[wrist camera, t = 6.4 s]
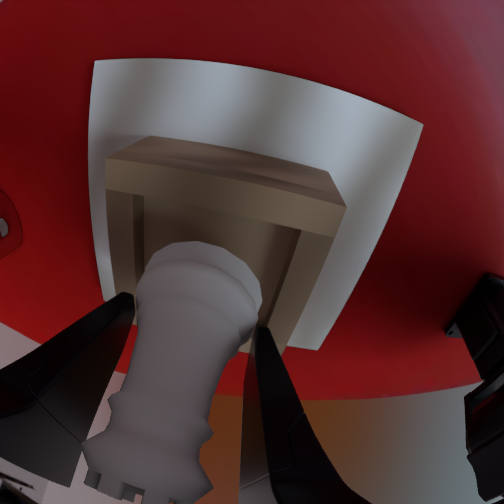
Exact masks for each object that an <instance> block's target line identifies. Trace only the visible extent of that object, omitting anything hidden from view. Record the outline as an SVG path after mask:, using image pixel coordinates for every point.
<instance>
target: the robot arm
mask: <svg viewBox="0 0 504 504" xmlns="http://www.w3.org/2000/svg"><path fill="white" fill-rule="evenodd" d="M135 313H136V309H135V301H134V296H133V294H131V293H127V292H121V293H119V294H117V295H116V296H114V297H113V298H111V299H110V300H108V301H107V302H105V303H103V304H102V305H100V306H99V307H97V308H96V309H94V310H93V311H91V312H90V313H88V314H87V315H85V316H84V317H82V318H81V319H79V320H78V321H76V322H75V323H73V324H72V325H70V326H69V327H67V328H66V329H64V330H63V331H61V332H60V333H58V334H57V335H55V336H54V337H52V338H51V339H50V340H49V341H47V342H45V343H44V344H42V345H41V346H39V347H38V348H36V349H35V350H33V351H32V352H30V353H28V354H27V355H25V356H24V357H22V358H20V359H18V360H16V361H15V362H13V363H11V364H9V365H7V366H6V367H4V368H2V369H0V504H41V503H42V500H43V497H44V493H45V490H46V487H47V484H48V481H49V480H50V481H52V482H55V483H58V484H60V485H63V486H66V487H70V485H71V482H72V479H73V476H74V472H75V470H76V467H77V464H78V461H79V458H80V455H81V452H82V448H81V445H80V443H82V442H84V441H86V438H87V435H88V433H89V430H90V427H91V425H92V422H93V420H94V417H95V415H96V412H97V410H98V407H99V405H100V402H101V400H102V397H103V395H104V393H105V390H106V388H107V386H108V383H109V381H110V379H111V377H112V374H113V372H114V370H115V368H116V365H117V363H118V361H119V359H120V357H121V354H122V352H123V349H124V346H125V343H126V340H127V337H128V334H129V331H130V328H131V326H132V323H133V320H134V317H135ZM444 332H445V335H446V337H454V338H463V340H464V342H465V344H466V347H467V349H468V351H469V353H470V356H471V358H472V360H473V361H474V363H475V365H476V368H477V370H478V373H479V375H480V378H481V379H483V383H482V384H481V385H479V386H478V387H477V388H476V389H474V390H473V391H472V392H469V393H468V394H467V395H466V396H464V404H465V423H466V448H467V450H468V453H469V454H468V455H467V459H468V460H469V462H470V463H471V465H472V467H473V469H474V472H475V475H476V479H477V487H478V494H479V495H480V497H481V498H482V499H483V500H484V501H485V502H487V501H489V500H492V499H494V498H496V497H498V496H501V497H503V498H504V279H503V278H501V277H498V276H495V275H492V274H490V273H487V274H486V275H484V276H483V278H482V279H481V281H480V282H479V284H478V285H477V287H476V288H475V290H474V291H473V293H472V294H471V296H470V297H469V299H468V300H467V301H466V303H465V304H464V306H463V307H462V308H461V310H460V311H459V312H458V314H457V315H456V316H455V318H454V319H453V320H452V321H451V323H450V324H449V325H448V326H447V328H446V329H445V331H444ZM239 489H240V490H239V504H372V503H370V502H368V501H367V500H365V499H364V498H363V497H361V496H360V495H358V494H357V493H356V492H354V491H353V490H351V489H350V488H349V487H348V486H347V485H346V484H345V483H344V481H343V480H342V479H341V477H340V476H339V474H338V473H337V471H336V470H335V468H334V466H333V465H332V463H331V461H330V460H329V458H328V457H327V455H326V453H325V452H324V450H323V449H322V447H321V445H320V443H319V441H318V439H317V438H316V436H315V434H314V432H313V430H312V427H311V425H310V423H309V421H308V419H307V416H306V414H305V413H304V409H303V407H302V405H301V402H300V400H299V398H298V395H297V393H296V391H295V388H294V386H293V384H292V381H291V379H290V376H289V374H288V372H287V369H286V367H285V365H284V362H283V360H282V357H281V355H280V353H279V350H278V348H277V345H276V343H275V341H274V338H273V336H272V333H271V331H270V329H269V328H268V327H265V326H260V325H258V326H256V329H255V332H254V335H253V338H252V341H251V345H250V351H249V356H248V362H247V367H246V373H245V379H244V388H243V410H242V434H241V457H240V481H239ZM492 504H504V499H502V500H499V501H497V502H495V503H492Z"/></svg>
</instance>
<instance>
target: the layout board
mask: <svg viewBox="0 0 504 504" xmlns="http://www.w3.org/2000/svg"><path fill="white" fill-rule="evenodd" d="M422 128H423V124H421V123H419V122H417V121H415V120H413V119H411V118H409V117H407V116H405V115H403V114H400V113H398V112H396V111H394V110H391V109H389V108H387V107H384V106H382V105H379V104H377V103H374V102H372V101H369V100H367V99H364V98H362V97H359V96H356V95H353V94H350V93H348V92H345V91H342V90H339V89H336V88H332V87H329V86H326V85H323V84H319V83H316V82H312V81H309V80H305V79H301V78H297V77H293V76H289V75H285V74H281V73H276V72H272V71H267V70H262V69H256V68H251V67H245V66H239V65H232V64H225V63H217V62H208V61H197V60H183V59H158V58H137V59H113V60H99V61H95V64H94V71H93V79H92V88H91V98H90V111H89V131H88V175H89V196H90V209H91V220H92V230H93V238H94V246H95V253H96V260H97V266H98V272H99V278H100V283H101V288H102V293H103V298H104V301H108V300H110V299H111V298H113V297H114V296H116V295H117V294H119V293H121V292H127V293H131V294H133V296H134V301H135V309H136V288H137V284H138V282H139V281H140V279H141V277H142V276H143V274H144V272H145V268H146V266H147V264H148V263H149V261H150V259H151V258H152V256H153V254H154V253H155V252H157V251H159V250H161V249H162V248H164V247H166V246H168V245H170V244H171V243H179V242H191V241H199V242H203V243H207V244H211V245H214V246H218V247H222V248H224V249H226V250H227V251H229V252H230V253H232V254H233V255H235V256H236V257H238V258H239V259H240V260H242V261H243V262H245V263H246V264H247V265H248V267H249V268H250V270H251V271H252V272H253V274H254V275H255V277H256V278H257V280H258V281H259V283H260V289H261V296H262V303H261V306H260V308H259V311H258V313H257V314H258V321H257V323H256V326H258V325H260V326H265V327H268V328H269V329H270V331H271V333H272V336H273V338H274V341H275V343H276V345H277V348H278V350H279V353H280V355H282V353H283V351H284V349H285V347H286V345H287V346H293V347H299V348H306V349H312V350H318V349H319V347H320V345H321V344H322V342H323V341H324V339H325V337H326V336H327V334H328V333H329V331H330V329H331V328H332V326H333V324H334V322H335V321H336V319H337V317H338V316H339V314H340V312H341V310H342V309H343V307H344V305H345V303H346V302H347V300H348V298H349V296H350V294H351V293H352V291H353V289H354V287H355V285H356V283H357V281H358V280H359V278H360V276H361V274H362V272H363V270H364V268H365V266H366V264H367V262H368V260H369V258H370V256H371V254H372V252H373V250H374V248H375V246H376V244H377V242H378V239H379V237H380V235H381V233H382V231H383V229H384V226H385V224H386V222H387V220H388V217H389V215H390V213H391V211H392V208H393V206H394V204H395V201H396V199H397V196H398V194H399V191H400V189H401V187H402V184H403V181H404V179H405V176H406V174H407V171H408V168H409V166H410V163H411V160H412V157H413V155H414V152H415V149H416V146H417V143H418V140H419V137H420V134H421V131H422ZM136 312H137V310H136ZM132 324H134V325H137V319H136V313H135V317H134V320H133V323H132ZM256 326H255V328H254V330H253V333H252V335H251V337H250V339H249V341H248V342H247V343H245V344H244V345H243V346H241V347H240V348H239V350H238V351H241V352H246V353H249V351H250V345H251V341H252V338H253V335H254V332H255V329H256Z"/></svg>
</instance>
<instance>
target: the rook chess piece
mask: <svg viewBox="0 0 504 504" xmlns="http://www.w3.org/2000/svg"><path fill="white" fill-rule="evenodd" d="M261 303H262V296H261V289H260V283H259V281H258V280H257V278H256V277H255V275H254V274H253V272H252V271H251V270H250V268H249V267H248V265H247V264H246V263H245V262H243V261H242V260H240V259H239V258H238V257H236V256H235V255H233V254H232V253H230V252H229V251H227V250H226V249H224V248H222V247H218V246H214V245H211V244H207V243H203V242H199V241H191V242H179V243H171V244H170V245H168V246H166V247H164V248H162V249H161V250H159V251H157V252H155V253H154V254H153V256H152V258H151V259H150V261H149V263H148V264H147V266H146V268H145V272H144V274H143V276H142V277H141V279H140V281H139V282H138V284H137V288H136V310H137V312H136V319H137V327H138V334H137V339H136V342H135V346H134V349H133V353H132V357H131V360H130V364H129V368H128V372H127V374H126V377H125V379H124V382H123V384H122V387H121V389H120V391H119V392H117V393H115V394H112V395H111V396H110V397H109V398H108V402H109V405H110V408H111V411H112V412H111V417H110V422H109V424H108V425H107V427H106V429H105V430H104V431H103V432H101V433H99V434H97V435H95V436H93V437H91V438H89V439H88V440H86V441H84V442H82V443H80V445H81V448H82V451H83V454H84V457H85V460H86V462H87V465H88V467H89V469H88V472H87V475H86V479H85V481H84V484H85V485H88V486H90V487H92V488H94V489H97V491H100V492H102V493H104V494H106V495H108V496H111V497H113V498H115V499H118V500H122V499H125V500H128V501H131V502H134V498H135V494H139V495H142V496H143V497H142V501H141V504H169V503H172V502H174V503H173V504H193V503H194V502H196V501H197V500H199V499H200V498H201V497H203V496H204V495H205V494H207V493H208V492H209V491H210V490H212V489H213V486H212V484H211V482H210V480H209V479H208V477H207V475H206V473H205V472H204V470H203V468H202V466H201V464H200V462H199V452H200V448H201V446H202V444H203V443H205V442H206V441H208V440H209V439H211V437H212V435H213V431H212V429H211V428H210V426H209V424H208V417H209V412H210V407H211V402H212V398H213V395H214V393H215V390H216V388H217V385H218V382H219V380H220V377H221V374H222V371H223V369H224V368H225V366H226V364H227V362H228V361H229V360H230V359H231V358H233V357H234V356H236V355H237V353H238V350H239V348H240V347H241V346H243V345H244V344H245V343H247V342H248V341H249V339H250V337H251V335H252V333H253V330H254V328H255V326H256V323H257V321H258V314H257V313H258V311H259V308H260V306H261Z"/></svg>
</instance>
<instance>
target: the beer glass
mask: <svg viewBox="0 0 504 504" xmlns="http://www.w3.org/2000/svg"><path fill="white" fill-rule="evenodd" d="M21 241H22V229H21V224H20V221H19V218H18V215H17V212H16V210H15V208H14V206H13V204H12V203H11V201H10V200H9V198H8V197H7V196H6V195H5V194H4V193H3V192H2V191H0V260H1V259H2V258H4V257H6V256H7V255H9V254H10V253H12V252H14V251H15V250H16V249H18V248H19V246H20V244H21Z"/></svg>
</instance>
